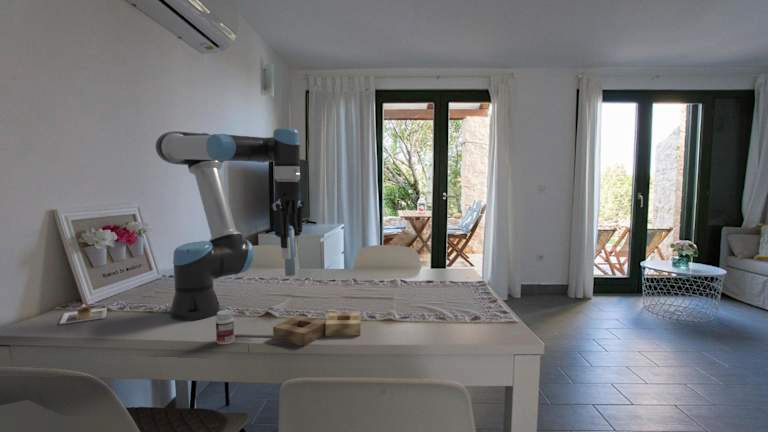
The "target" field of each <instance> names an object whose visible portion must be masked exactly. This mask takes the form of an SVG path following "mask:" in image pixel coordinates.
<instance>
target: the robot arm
mask: <svg viewBox="0 0 768 432" xmlns="http://www.w3.org/2000/svg"><path fill="white" fill-rule="evenodd" d="M300 145H301V143H300V133H299V131H298V130H297V129H296V128H287V127H286V128H276V129H274V130H273V136H272V137H271V136H270V137H262V136H261V137H259V136H248V135H247V136H245V135H237V134H236V135H235V134H234V135H233V134H227V133H213V134H211V133H210V134H209V133H205V132H202V133H200V132H199V133H198V132H188V131H174V130H173V131H168V132H165V133H162V134H161V135H160V136H158V138H157V140H156V142H155V151H156V154H157V155H158V157H159V158H160V159H161V160H162V161H164V162H166V163H168V164H172V165H179V166H181V165H183V166H187V168H188V171H189V173H190V174H192V175H194V176H195V177H194V178H195V180H196V185H197V187H198V192H199V195H200V200H201V202H202V206H203V211H204V214H205V217H206V221H207V226H208V229H209V233H210V236H211V237H210V239H209V240H200V241H193V242H191V241H190V242H188V243H184V244H181V245H180V246H177V247H176V248H175V249H174V250H173V260H172V264H173V276H174V296H173V299H172V302H171V306H170V309H169V316H170V318H171V319H173V320H179V321H195V320H196V321H197V320H201V319H207V318H209V317H213V316H215V315H217V312H219V311H221V310H220V307H221V305H220V302H219V300H218V297H217V295H216V291H215V289H214V279H218V278H222V277H228V276H233V275H235V276H236V275H239V274H242V273H245V272H247V271H248V270H250V269H251V267H252V265H253V263H254V258H255V251H254V246H253V244H252V243H251V242H250V241H249V240H247V239H244V238H243V234H242V233H241V232H240V231H238V230H237V229H236V226H235V222H234V218H233V215H232V210H231V208H230V204H229V200H228V197H227V193H226V189H225V186H224V182H223V179H222V175H221V171H220V170H221V169H222V168H223V163H224V162H251V163H252V162H254V163H264V164H265V163H269V162H274V166H273V167H274V180H275V183H274V193H275V194H277V198H276V202H274V203H271V204H270V208H271V211H272V215H273V216H272V217H273V226H274V227H273V228H274V235H275V236H277V238H280V248H281V259H284V260H285V259H291V255H290V237H288V228H289V225H291V226H292V227H293V228H294V247H295V258H297V257H298V241H299V240H298V237H299V236H301V233H303V223H304V222H303V219H304V218H303V215H304V207H305V201H301V200H300V198H299V194H300V193H301V182H300V181H299V180H301V171H300V170H301V167H300V165H301V158H300V157H301V155H300V151H301V149H300V147H301V146H300Z"/></svg>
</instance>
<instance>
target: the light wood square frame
mask: <svg viewBox="0 0 768 432" xmlns="http://www.w3.org/2000/svg"><path fill="white" fill-rule="evenodd" d="M325 321H326V323H325V337H327V336H329V337H334V336H335V337H336V336H337V337H338V336H361V323H362V321H361V312H360V311H359V312H327V315H326V320H325Z"/></svg>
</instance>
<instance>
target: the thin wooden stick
mask: <svg viewBox="0 0 768 432" xmlns="http://www.w3.org/2000/svg"><path fill="white" fill-rule="evenodd" d="M235 337H239V338H241V337H242V338H243V337H246V338H248V337H249V338H250V337H251V338H255V337H256V338H261V337H263V338H273V333H235Z"/></svg>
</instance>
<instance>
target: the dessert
mask: <svg viewBox="0 0 768 432" xmlns="http://www.w3.org/2000/svg"><path fill="white" fill-rule="evenodd" d="M107 311H108V307H101V308H93V309H91V308H90V307H89V306H87V304H84V303H83V304H81V305H80V308H78V309H77V311H70V312H64V313H63V314H62V316H61V319H60V320H59V323H58V325H59V324H60V325H67V324H68V325H69V324H76V323H77V324H78V323H81V322H83V323H84V322H89V321H97V320H103V319H105V318H107ZM93 312H94V313H96V312H102V313H101V317H97V318H95V317H94V318H92V317H93V316H94V314H93ZM72 315H76V318H75V321H67V319H68V318H69V316H72ZM76 319H77V320H76Z"/></svg>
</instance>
